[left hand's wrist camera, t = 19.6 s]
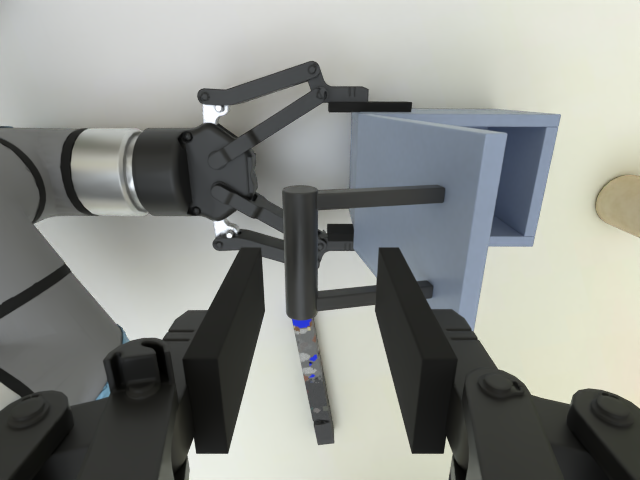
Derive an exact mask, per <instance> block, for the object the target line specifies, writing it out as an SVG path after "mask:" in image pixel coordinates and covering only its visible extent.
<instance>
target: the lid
mask: <svg viewBox="0 0 640 480" xmlns="http://www.w3.org/2000/svg"><path fill="white" fill-rule="evenodd" d="M506 139H507V133H503V132H496V131H489V130H482V129H475V128H467V127H460V126H453V125H446V124H439V123H431V122H424V121H417V120H410V119H403V118H395V117H388V116H381V115H374V114H359V115H358V138H357V165H356V188H355V189H334V190H317V188H315V187H312V186H304V185H297V186H289V187H286V188H284V189H283V190H282V195H283V227H284V258H285V289H286V313H287V315H288V317H290V318H291V319H294V320H300V321H303V320H309V319H312V318H314V317H315V316H316V315H317V312H318V311H324V310H333V309H342V308H351V307H360V306H368V305H375V304H376V286H377V285H374V286H364V287H354V288H345V289H335V290H325V291H318V210H331V209H348V208H355V219H354V246H353V249H354V250H355V251H356V252H357V254H358V255H359V256H360V257H361V259H362V260H363V261H364V262H365V264H366V265H367V266H368V267H369V269H370V270H371V271H372V272H373V274H374V275H375V276H376V277H377V269H378V251H379V247H399V248H400V250H401V252H402V254H403V256H404V258H405V260H406V262H407V264H408V266H409V267H410V269H411V271H412V273H413V275H414V277H415V279H416V281H417V283H418V285H419V286H420V288H421V290H422V292H423V294H424V296H425V298H426V300H427V302H428V304H429V305H430V307H431V309H452V310H454V311H455V312H457V313H458V314H459V315H461V316H462V317H464V318H465V320H466V321H467V323H468V324H469V326H470V327H471V329H472V331H473V332H474V326H475V321H476V315H477V309H478V303H479V297H480V291H481V285H482V280H483V274H484V268H485V262H486V256H487V250H488V245H489V239H490V233H491V227H492V221H493V215H494V210H495V204H496V198H497V192H498V186H499V180H500V174H501V169H502V163H503V157H504V151H505V145H506Z"/></svg>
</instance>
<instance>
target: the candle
mask: <svg viewBox="0 0 640 480" xmlns="http://www.w3.org/2000/svg"><path fill="white" fill-rule="evenodd" d="M596 211H597V214H598V216H599V217H600V218H601V219H602V220H603V221H604V222H606V223H608V224H610V225H612V226H614V227H617V228H619V229H621V230H623V231H625V232H628V233H630V234H632V235H634V236H637V237H639V238H640V176H636V175H624V176H620V177H617V178H615V179H613V180H612V181H610V182H609V183H608V184H607V185H605V186H604V188H603V189H602V190H601V192H600V193H599V195H598V198H597V201H596Z"/></svg>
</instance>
